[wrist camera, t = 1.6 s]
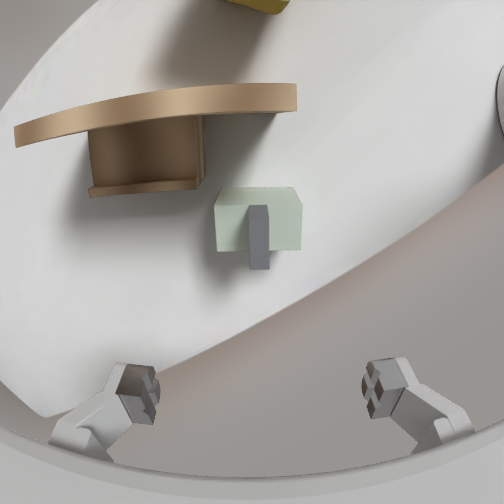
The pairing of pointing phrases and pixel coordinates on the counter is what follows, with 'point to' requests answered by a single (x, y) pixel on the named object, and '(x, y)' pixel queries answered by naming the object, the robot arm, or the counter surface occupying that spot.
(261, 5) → the flower pot
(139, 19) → the counter surface
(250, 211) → the pale green box
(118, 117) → the wall board
